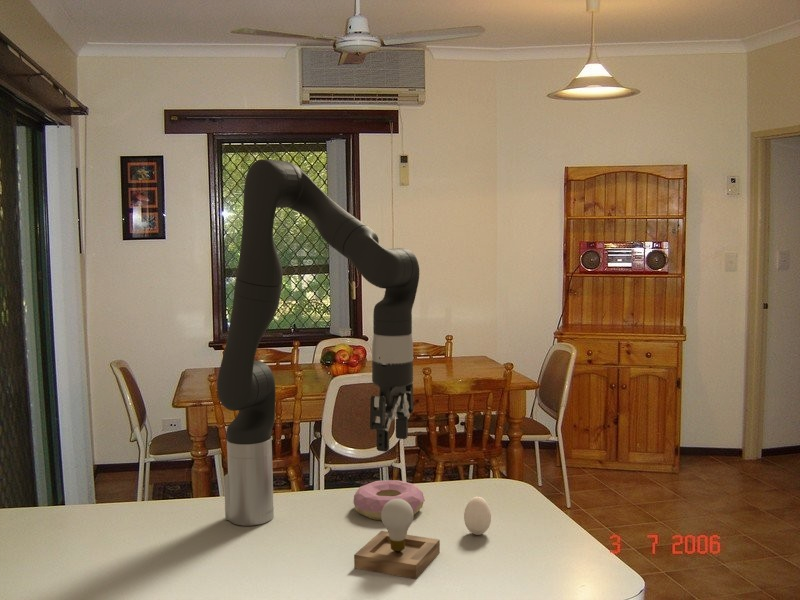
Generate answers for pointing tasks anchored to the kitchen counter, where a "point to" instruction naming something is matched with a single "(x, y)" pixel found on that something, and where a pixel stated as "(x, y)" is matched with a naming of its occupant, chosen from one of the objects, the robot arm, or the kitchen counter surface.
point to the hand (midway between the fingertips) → (392, 444)
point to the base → (397, 555)
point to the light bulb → (397, 522)
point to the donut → (386, 497)
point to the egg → (477, 516)
